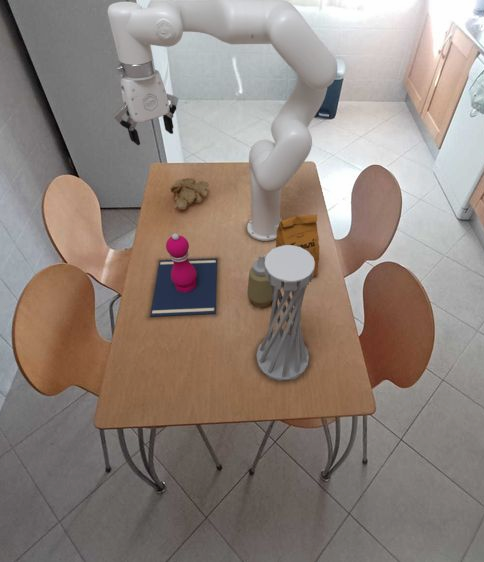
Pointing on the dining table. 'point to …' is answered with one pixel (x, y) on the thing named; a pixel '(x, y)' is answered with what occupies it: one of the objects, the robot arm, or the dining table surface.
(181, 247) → the pepper mill
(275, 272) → the twisted lattice pedestal
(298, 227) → the coffee package
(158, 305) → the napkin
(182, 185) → the ginger root
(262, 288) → the squeeze bottle
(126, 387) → the dining table surface
